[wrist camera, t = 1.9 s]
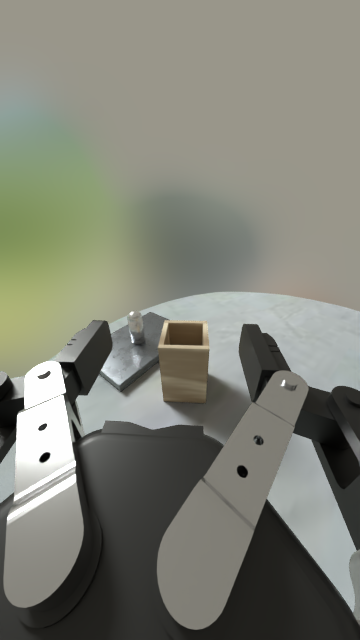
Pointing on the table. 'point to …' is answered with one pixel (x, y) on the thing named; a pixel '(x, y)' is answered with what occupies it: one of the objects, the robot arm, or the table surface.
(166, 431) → the robot arm
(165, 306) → the table surface
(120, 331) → the post plate
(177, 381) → the wooden sleeve
